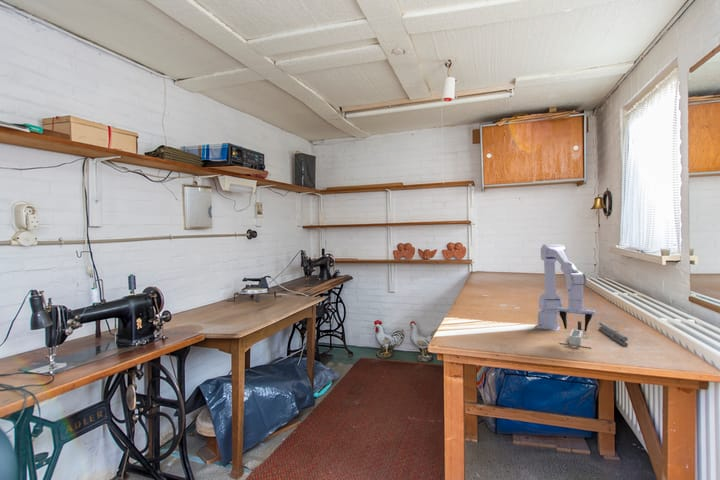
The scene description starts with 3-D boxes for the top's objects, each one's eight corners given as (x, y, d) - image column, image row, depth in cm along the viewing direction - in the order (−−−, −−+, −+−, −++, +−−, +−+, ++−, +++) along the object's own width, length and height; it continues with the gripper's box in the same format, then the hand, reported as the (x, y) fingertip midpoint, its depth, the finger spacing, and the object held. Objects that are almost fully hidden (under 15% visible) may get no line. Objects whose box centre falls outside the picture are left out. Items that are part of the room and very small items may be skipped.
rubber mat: (559, 344, 163) (559, 343, 163) (562, 337, 173) (562, 336, 173) (590, 348, 156) (590, 347, 156) (592, 341, 166) (592, 340, 166)
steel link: (568, 344, 161) (568, 335, 161) (571, 337, 171) (571, 329, 170) (580, 346, 158) (580, 337, 158) (582, 339, 168) (582, 330, 168)
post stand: (567, 337, 172) (567, 325, 172) (571, 329, 185) (571, 318, 185) (587, 340, 168) (587, 328, 168) (589, 331, 181) (589, 320, 181)
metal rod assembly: (598, 330, 182) (598, 321, 182) (604, 331, 182) (604, 321, 182) (622, 347, 157) (622, 336, 157) (629, 347, 157) (629, 336, 157)
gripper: (555, 299, 162) (555, 329, 163) (594, 302, 154) (594, 334, 154) (558, 296, 168) (558, 325, 168) (595, 299, 159) (595, 330, 160)
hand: (575, 329), depth 162 cm, fingers open, 7 cm apart
